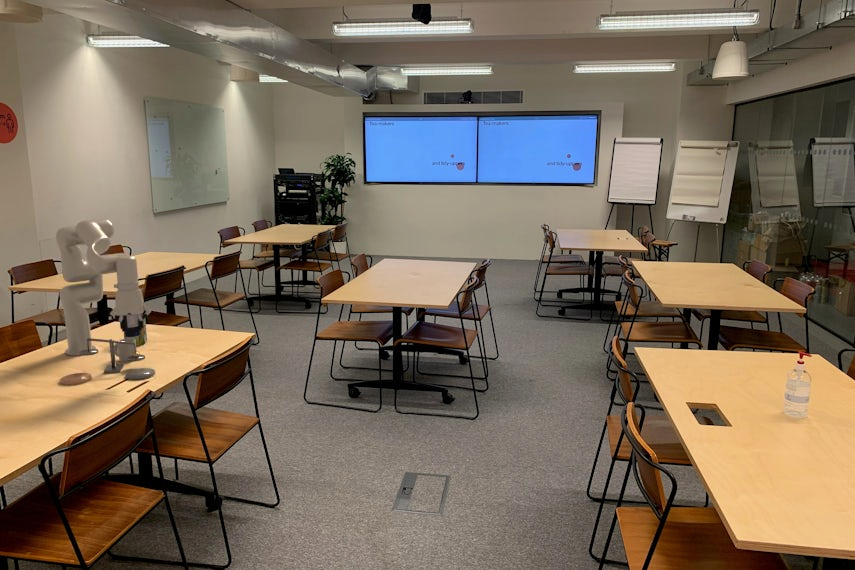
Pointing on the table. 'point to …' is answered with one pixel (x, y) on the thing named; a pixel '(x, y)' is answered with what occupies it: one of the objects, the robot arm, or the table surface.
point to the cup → (124, 349)
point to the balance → (113, 354)
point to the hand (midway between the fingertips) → (132, 329)
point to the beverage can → (131, 326)
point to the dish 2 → (140, 373)
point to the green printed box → (142, 336)
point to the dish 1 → (75, 379)
